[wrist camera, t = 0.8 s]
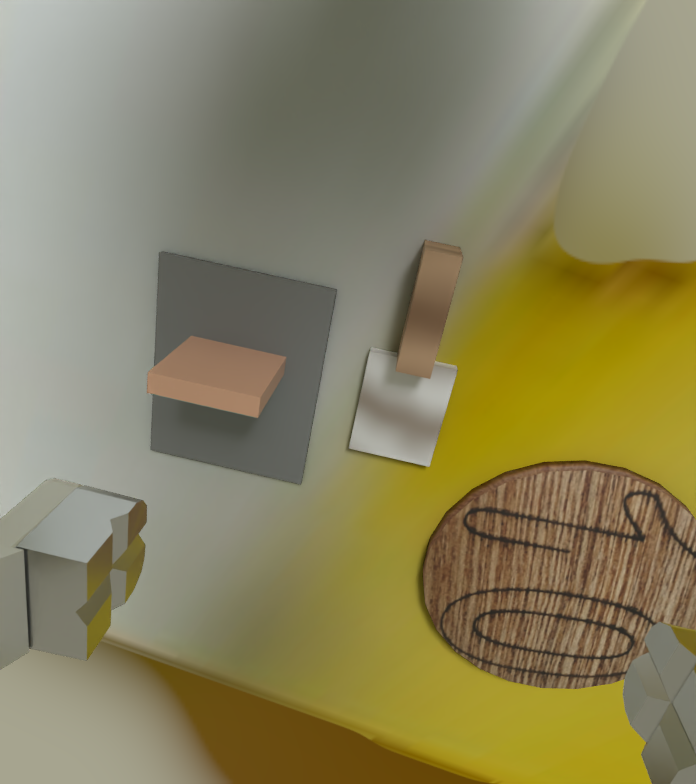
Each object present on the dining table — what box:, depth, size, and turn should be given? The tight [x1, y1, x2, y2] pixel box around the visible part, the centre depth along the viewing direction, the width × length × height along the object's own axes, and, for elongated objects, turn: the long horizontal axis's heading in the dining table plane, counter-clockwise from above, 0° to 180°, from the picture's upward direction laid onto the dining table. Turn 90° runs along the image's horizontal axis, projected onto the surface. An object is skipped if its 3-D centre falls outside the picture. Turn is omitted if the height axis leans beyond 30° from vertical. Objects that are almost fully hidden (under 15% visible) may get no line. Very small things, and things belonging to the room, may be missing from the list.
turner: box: [349, 240, 463, 467], centre depth 43 cm, size 18×7×4 cm, turn 169°
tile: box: [147, 336, 286, 418], centre depth 43 cm, size 2×8×8 cm, turn 79°
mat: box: [151, 252, 337, 484], centre depth 47 cm, size 18×14×1 cm
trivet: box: [423, 461, 696, 689], centre depth 52 cm, size 25×25×2 cm
